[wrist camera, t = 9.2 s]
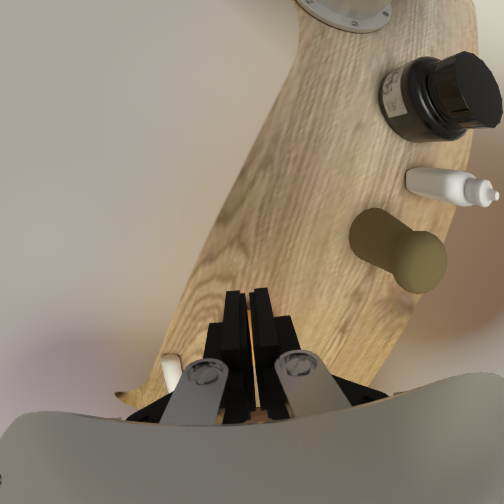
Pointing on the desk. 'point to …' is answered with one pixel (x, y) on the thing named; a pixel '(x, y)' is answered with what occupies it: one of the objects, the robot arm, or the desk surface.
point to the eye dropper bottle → (450, 186)
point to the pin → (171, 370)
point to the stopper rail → (259, 416)
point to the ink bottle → (441, 98)
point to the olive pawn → (399, 250)
